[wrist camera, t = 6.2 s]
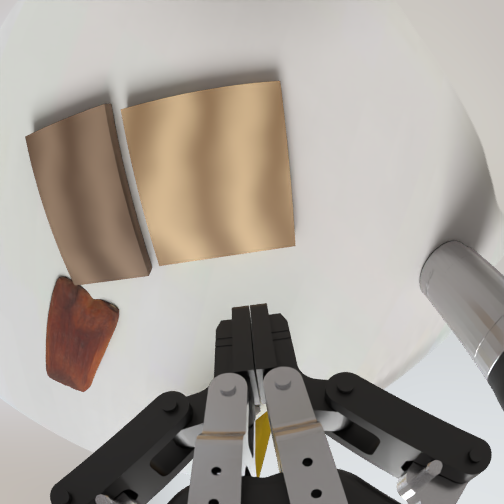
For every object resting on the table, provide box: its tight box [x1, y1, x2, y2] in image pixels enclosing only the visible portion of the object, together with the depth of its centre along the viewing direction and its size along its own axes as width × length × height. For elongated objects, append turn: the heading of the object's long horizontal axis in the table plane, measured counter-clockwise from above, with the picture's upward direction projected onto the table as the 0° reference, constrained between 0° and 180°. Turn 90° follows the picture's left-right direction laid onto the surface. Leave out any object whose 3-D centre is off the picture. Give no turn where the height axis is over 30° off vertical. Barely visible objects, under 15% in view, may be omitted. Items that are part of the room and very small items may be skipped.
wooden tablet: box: [46, 277, 119, 392], centre depth 37 cm, size 27×10×2 cm, turn 146°
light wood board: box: [121, 81, 295, 266], centre depth 26 cm, size 14×16×2 cm
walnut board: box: [25, 104, 152, 285], centre depth 26 cm, size 10×18×2 cm, turn 7°
